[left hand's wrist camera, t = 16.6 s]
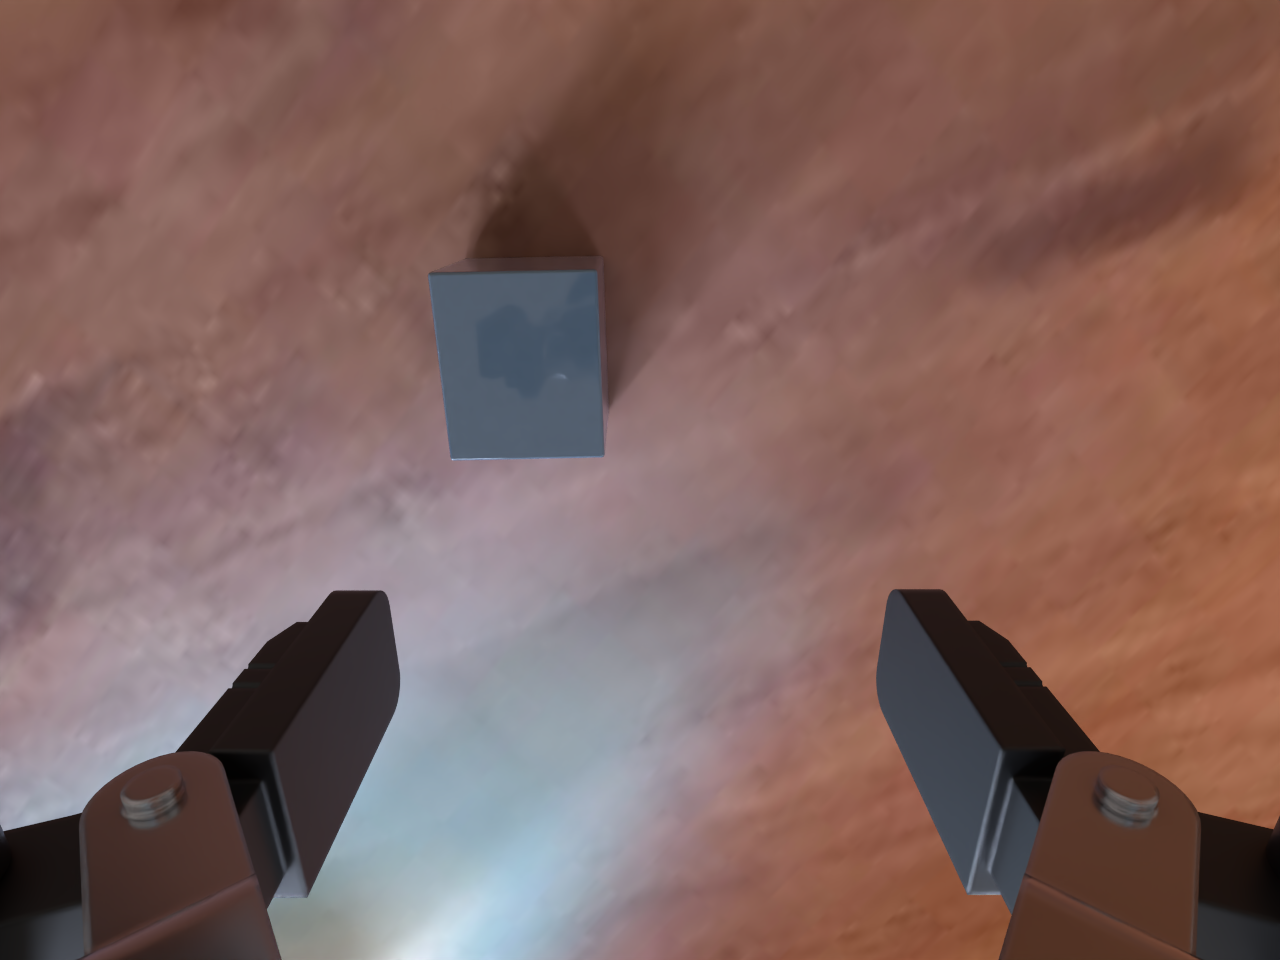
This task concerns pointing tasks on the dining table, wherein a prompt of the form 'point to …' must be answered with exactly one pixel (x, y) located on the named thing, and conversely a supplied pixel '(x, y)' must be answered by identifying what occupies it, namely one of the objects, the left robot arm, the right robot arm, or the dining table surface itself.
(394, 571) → the dining table surface
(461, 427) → the grey block
